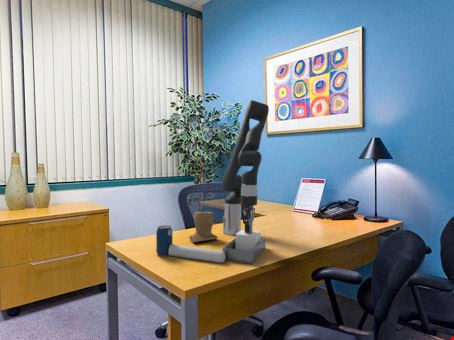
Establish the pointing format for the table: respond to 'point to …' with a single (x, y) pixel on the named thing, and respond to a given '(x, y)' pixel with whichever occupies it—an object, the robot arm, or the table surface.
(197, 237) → the stone cup
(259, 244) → the bay
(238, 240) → the white knobbed block
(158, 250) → the soda can
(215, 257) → the tube
